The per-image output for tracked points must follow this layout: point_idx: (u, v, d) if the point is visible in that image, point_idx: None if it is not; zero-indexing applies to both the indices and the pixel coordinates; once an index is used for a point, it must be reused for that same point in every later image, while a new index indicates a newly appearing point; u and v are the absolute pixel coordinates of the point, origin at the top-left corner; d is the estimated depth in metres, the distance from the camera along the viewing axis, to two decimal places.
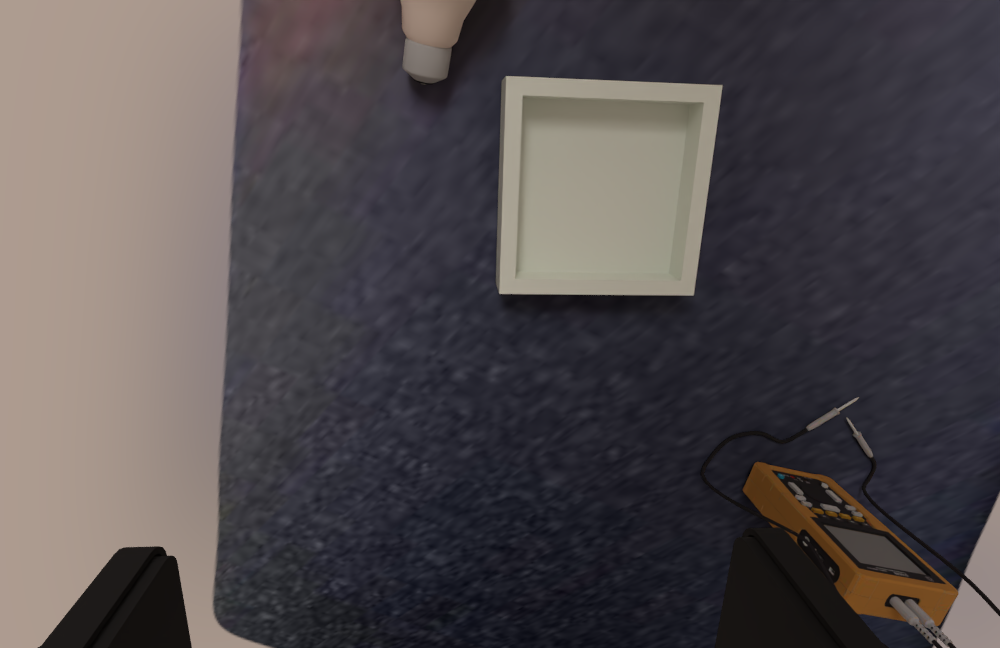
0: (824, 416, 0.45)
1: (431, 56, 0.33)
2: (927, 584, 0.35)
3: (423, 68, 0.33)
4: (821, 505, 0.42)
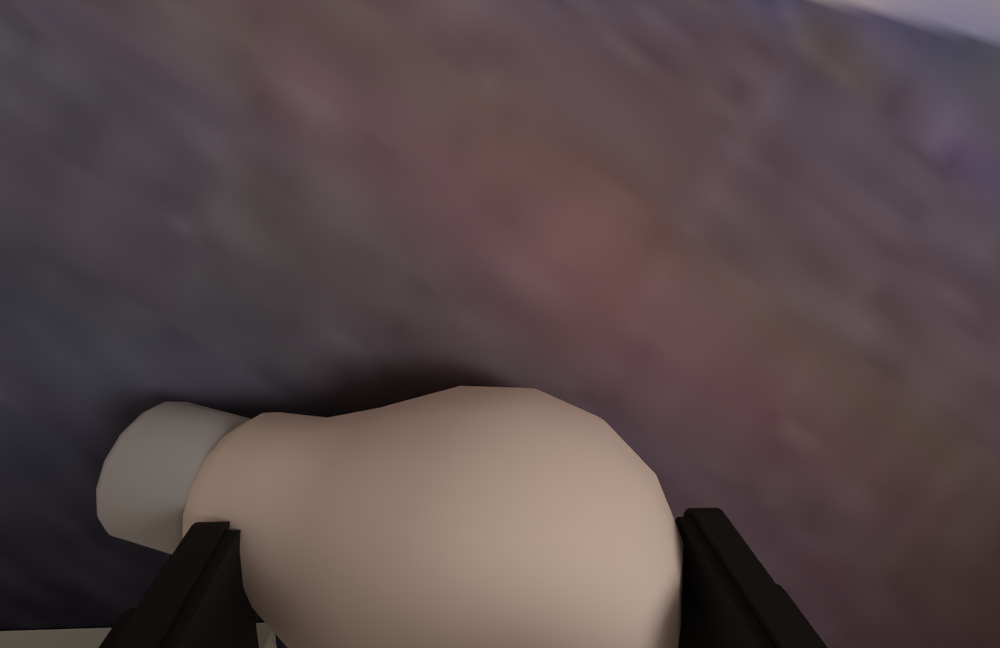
0: None
1: (154, 536, 0.10)
2: None
3: (116, 509, 0.10)
4: None
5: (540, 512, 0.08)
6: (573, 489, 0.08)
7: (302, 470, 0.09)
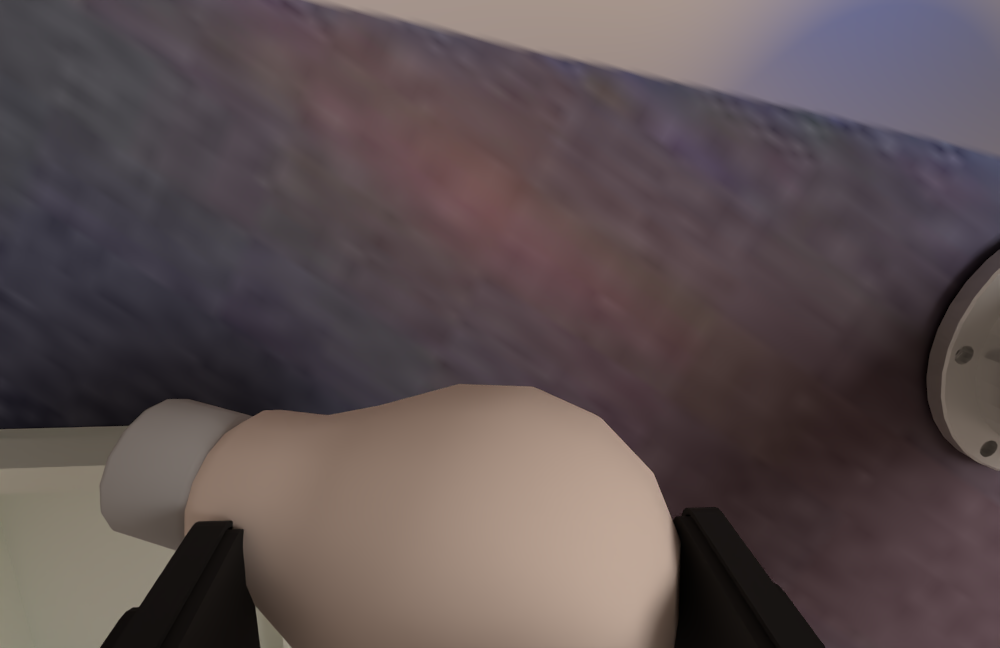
0: None
1: (156, 531, 0.10)
2: None
3: (119, 505, 0.10)
4: None
5: (536, 509, 0.08)
6: (569, 487, 0.08)
7: (302, 468, 0.09)
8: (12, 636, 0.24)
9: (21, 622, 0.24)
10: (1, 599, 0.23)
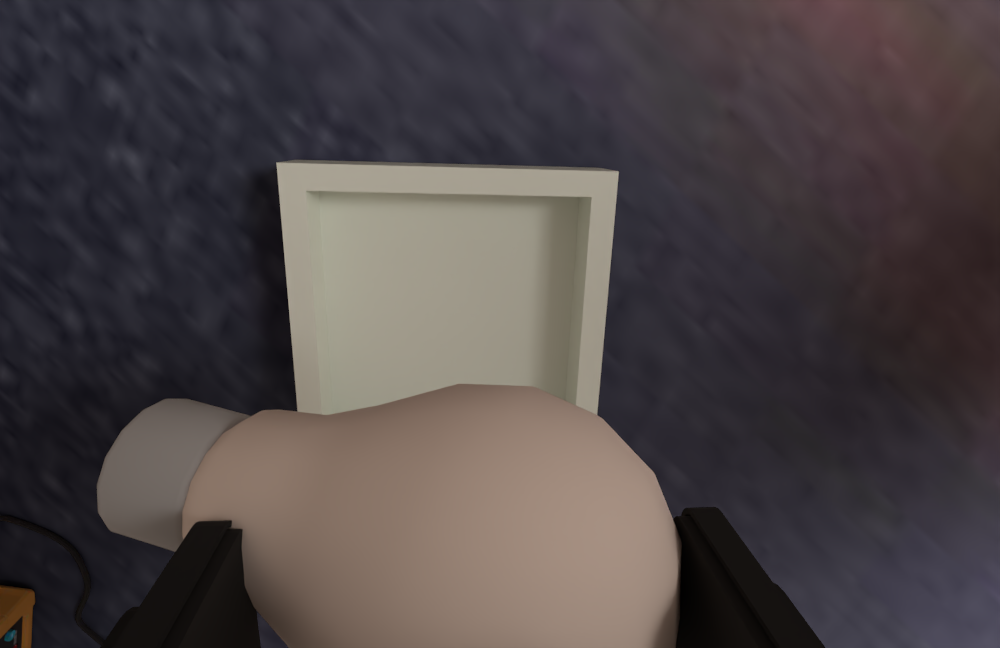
0: None
1: (154, 532, 0.10)
2: None
3: (116, 505, 0.10)
4: None
5: (537, 509, 0.08)
6: (570, 487, 0.08)
7: (300, 467, 0.09)
8: (325, 364, 0.25)
9: (327, 356, 0.26)
10: (322, 323, 0.25)
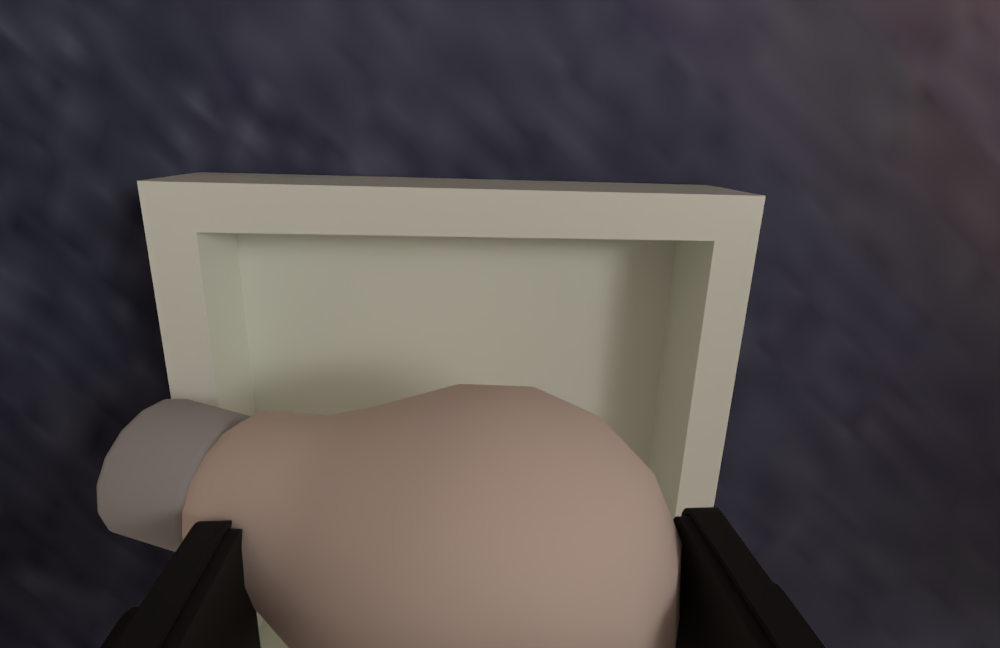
0: None
1: (153, 532, 0.10)
2: None
3: (116, 505, 0.10)
4: None
5: (536, 509, 0.08)
6: (569, 488, 0.08)
7: (300, 468, 0.09)
8: None
9: None
10: None
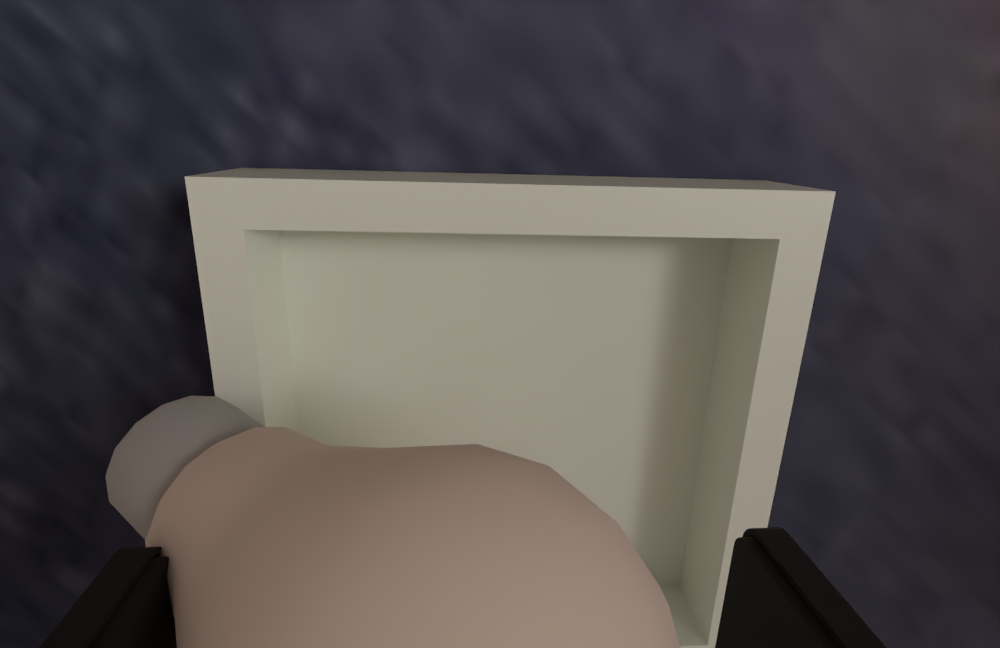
0: None
1: (139, 533, 0.10)
2: None
3: (115, 497, 0.10)
4: None
5: None
6: None
7: (228, 511, 0.08)
8: None
9: None
10: None
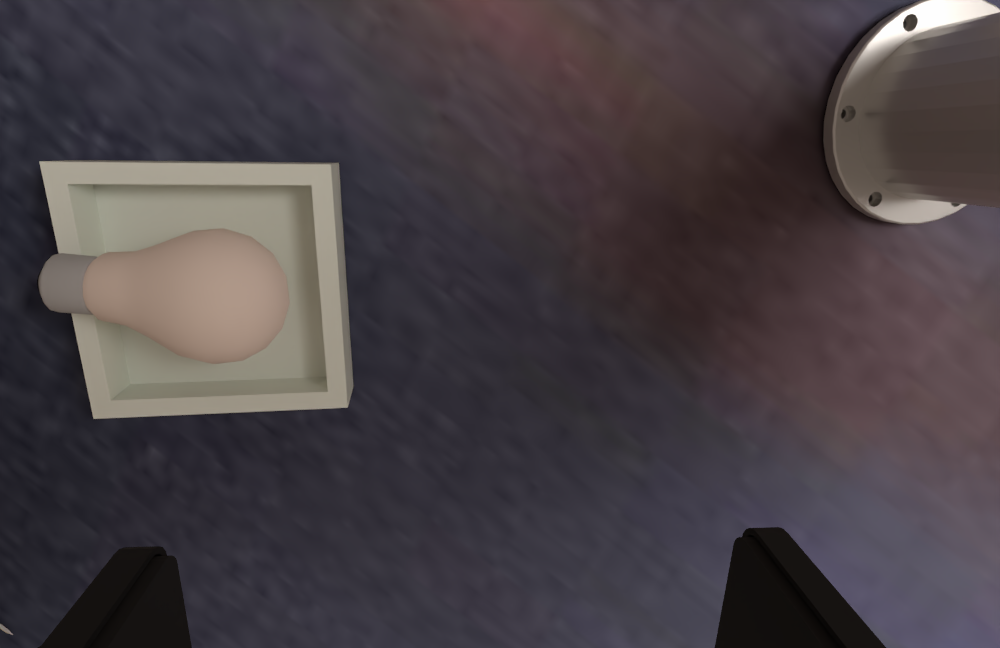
0: None
1: (69, 297, 0.26)
2: None
3: (50, 288, 0.26)
4: None
5: (219, 251, 0.26)
6: (231, 246, 0.26)
7: (133, 259, 0.26)
8: (110, 330, 0.30)
9: (116, 324, 0.31)
10: None
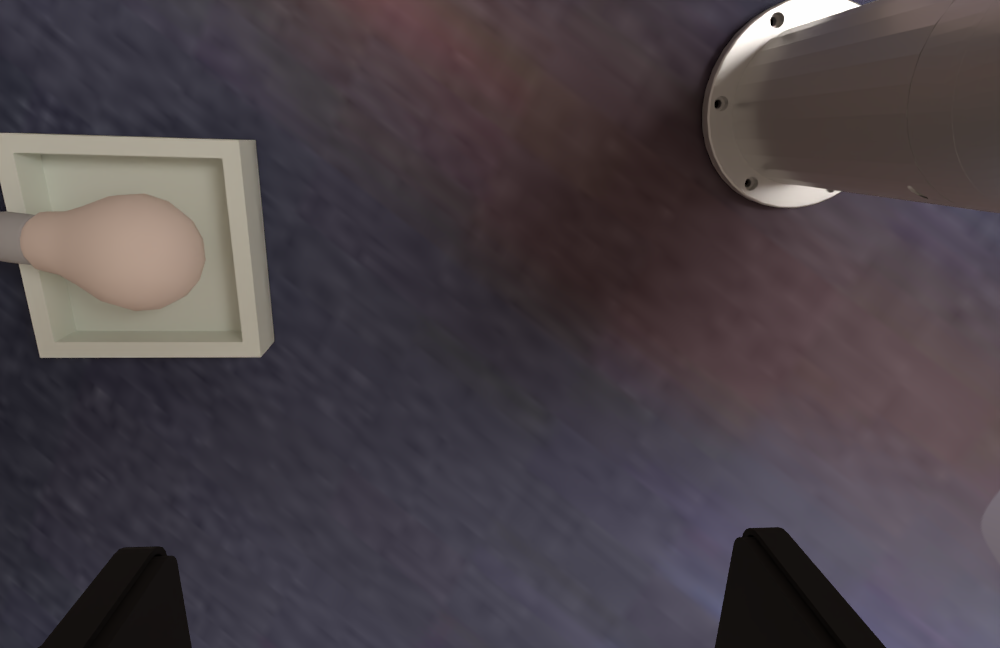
0: None
1: (9, 248, 0.30)
2: None
3: None
4: None
5: (132, 211, 0.30)
6: (144, 208, 0.30)
7: (62, 217, 0.30)
8: (56, 281, 0.35)
9: (62, 277, 0.36)
10: None
